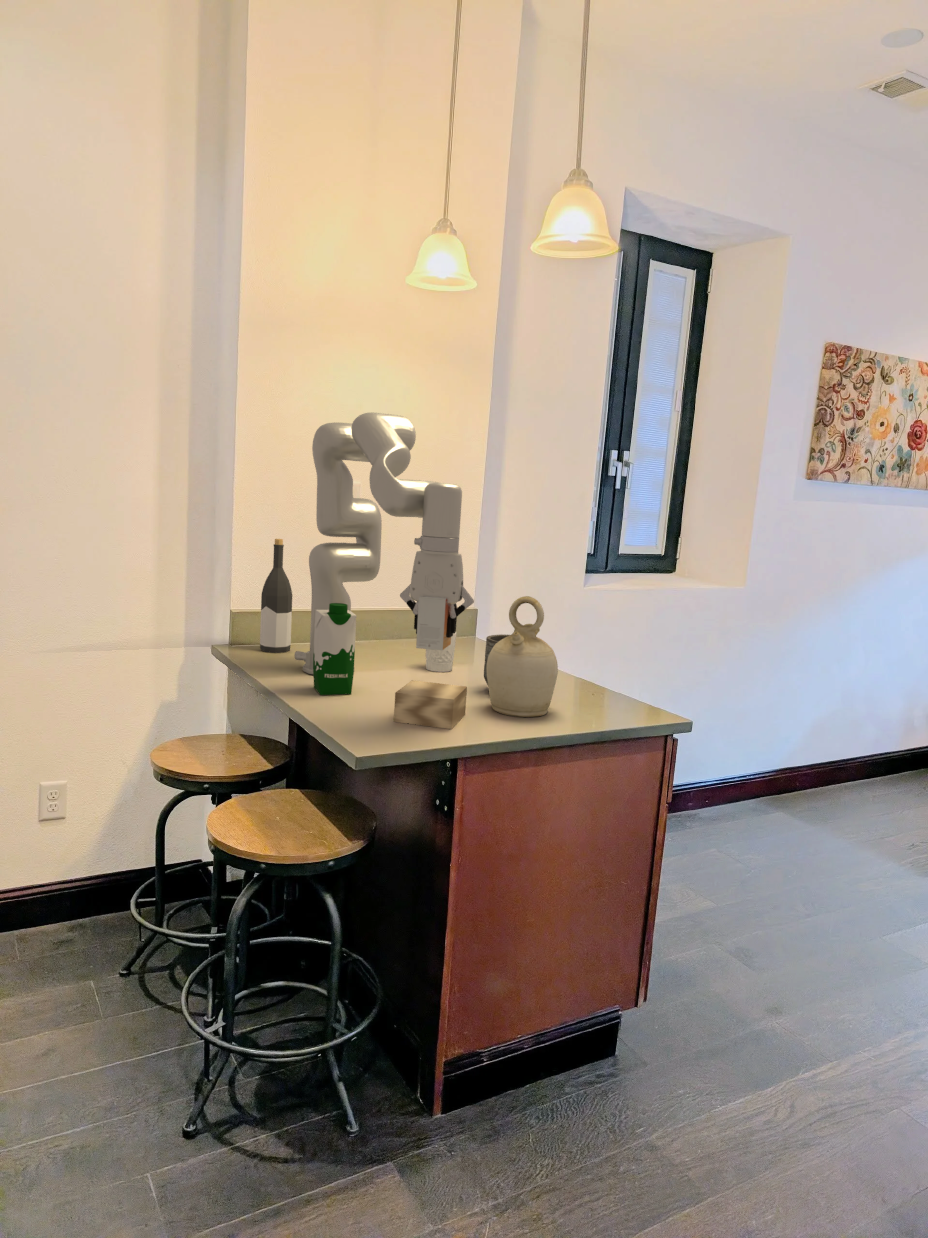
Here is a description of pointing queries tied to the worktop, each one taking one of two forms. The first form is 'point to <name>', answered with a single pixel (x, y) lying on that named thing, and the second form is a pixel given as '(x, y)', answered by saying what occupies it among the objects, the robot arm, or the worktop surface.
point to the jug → (522, 668)
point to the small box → (432, 623)
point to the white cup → (441, 657)
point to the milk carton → (334, 650)
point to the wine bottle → (276, 607)
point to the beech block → (430, 704)
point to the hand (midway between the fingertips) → (434, 634)
